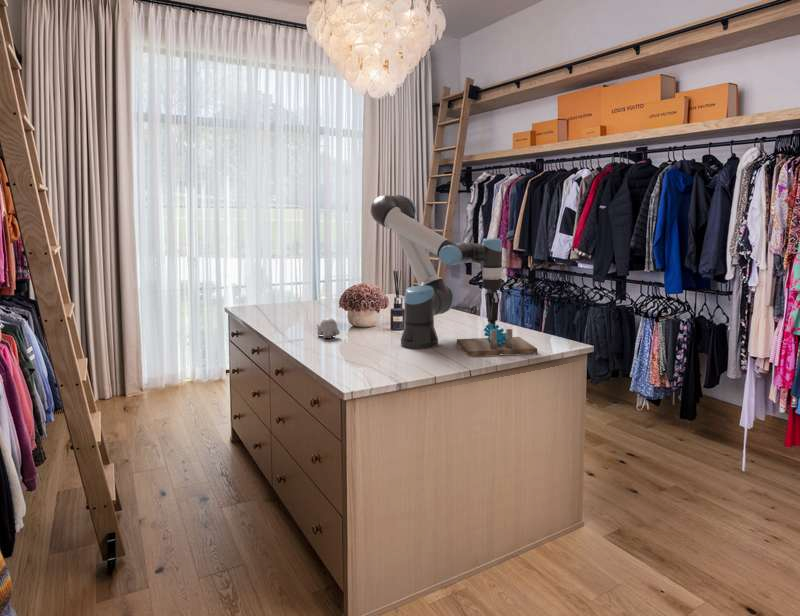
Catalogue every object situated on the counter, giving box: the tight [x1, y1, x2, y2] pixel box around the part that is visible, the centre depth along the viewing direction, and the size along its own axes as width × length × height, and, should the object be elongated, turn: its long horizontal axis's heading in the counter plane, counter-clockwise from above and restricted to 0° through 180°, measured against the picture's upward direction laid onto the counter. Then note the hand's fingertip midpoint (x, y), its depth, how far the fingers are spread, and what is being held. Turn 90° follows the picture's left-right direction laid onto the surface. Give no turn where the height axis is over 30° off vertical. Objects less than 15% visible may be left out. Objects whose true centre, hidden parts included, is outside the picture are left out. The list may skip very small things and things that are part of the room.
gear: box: [483, 323, 506, 346], centre depth 233 cm, size 11×6×10 cm
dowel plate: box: [456, 328, 538, 357], centre depth 232 cm, size 26×22×9 cm
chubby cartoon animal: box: [316, 317, 341, 339], centre depth 258 cm, size 7×12×8 cm, turn 44°
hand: (491, 337), depth 238 cm, fingers closed
